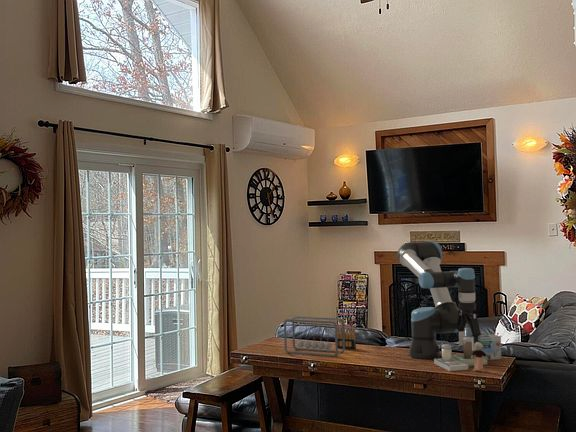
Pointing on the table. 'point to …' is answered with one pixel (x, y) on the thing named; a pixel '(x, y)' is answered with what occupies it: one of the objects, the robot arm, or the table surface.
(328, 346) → the newton's cradle
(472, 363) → the parts tray
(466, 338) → the white and tan cylinder
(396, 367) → the table surface
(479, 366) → the grandmother figurine
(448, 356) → the fuse
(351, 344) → the ammunition clip
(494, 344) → the light bulb box
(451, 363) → the white flat frame
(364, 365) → the table surface
